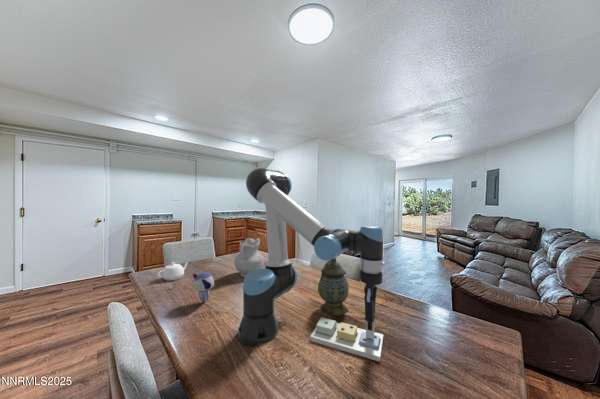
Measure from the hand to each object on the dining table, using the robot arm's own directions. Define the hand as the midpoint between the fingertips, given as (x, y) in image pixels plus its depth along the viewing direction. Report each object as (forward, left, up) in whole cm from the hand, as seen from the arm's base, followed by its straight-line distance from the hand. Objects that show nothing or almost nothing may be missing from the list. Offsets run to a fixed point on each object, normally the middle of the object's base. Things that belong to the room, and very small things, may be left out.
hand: (370, 337), depth 79 cm
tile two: (-8, 0, -1) cm, 8 cm away
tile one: (-16, 0, -1) cm, 16 cm away
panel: (-8, 0, -4) cm, 9 cm away
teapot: (-123, +15, -4) cm, 124 cm away
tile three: (0, 0, -3) cm, 3 cm away
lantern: (-19, +20, -4) cm, 28 cm away
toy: (-79, -1, -4) cm, 79 cm away
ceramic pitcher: (-84, +41, -4) cm, 94 cm away
